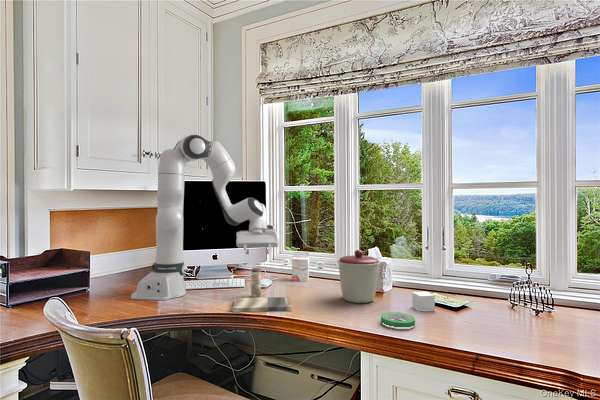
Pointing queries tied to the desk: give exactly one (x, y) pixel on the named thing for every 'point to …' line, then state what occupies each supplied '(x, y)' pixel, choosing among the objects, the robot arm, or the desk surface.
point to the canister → (358, 277)
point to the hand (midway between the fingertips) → (257, 253)
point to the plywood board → (262, 304)
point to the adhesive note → (423, 301)
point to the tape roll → (397, 315)
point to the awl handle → (256, 283)
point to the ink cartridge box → (300, 266)
